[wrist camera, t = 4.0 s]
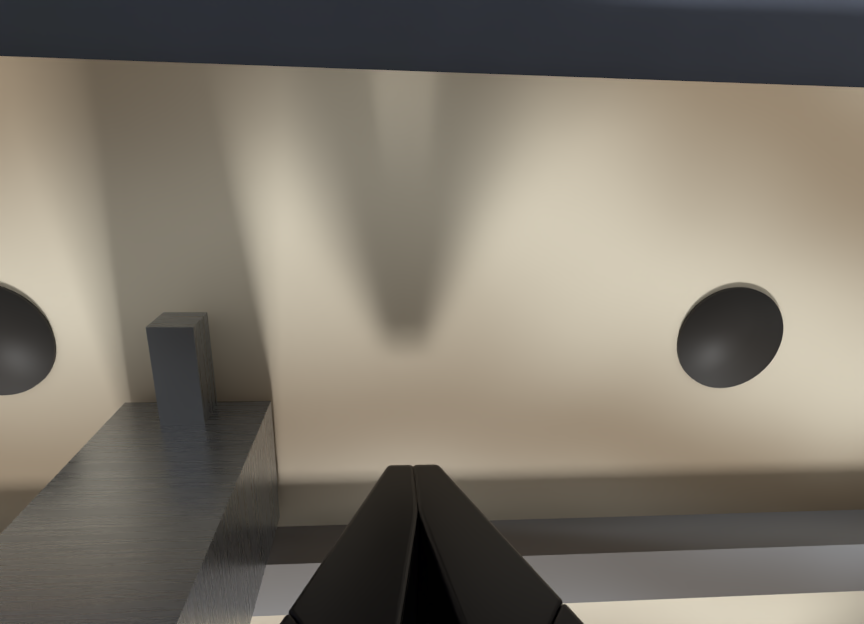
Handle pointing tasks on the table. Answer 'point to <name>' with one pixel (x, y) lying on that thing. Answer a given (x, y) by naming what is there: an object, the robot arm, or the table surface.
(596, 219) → the board
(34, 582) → the slider
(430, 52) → the table surface
